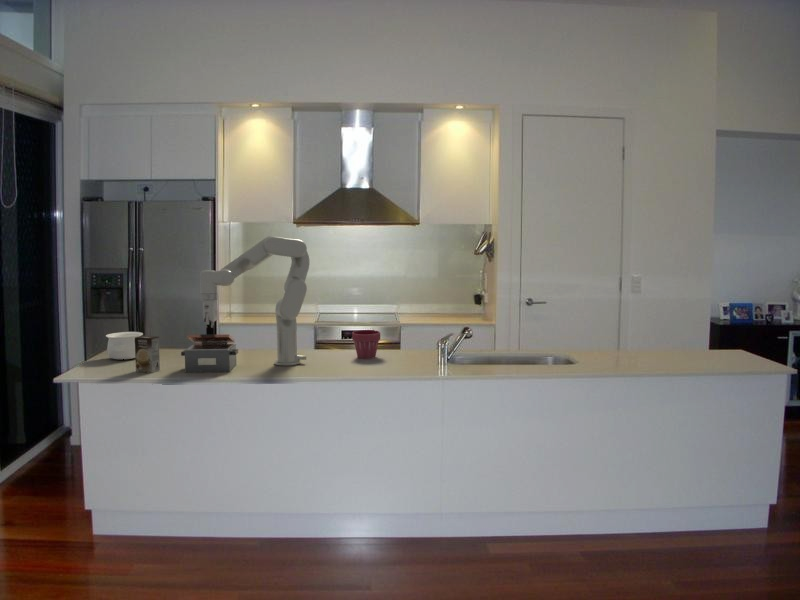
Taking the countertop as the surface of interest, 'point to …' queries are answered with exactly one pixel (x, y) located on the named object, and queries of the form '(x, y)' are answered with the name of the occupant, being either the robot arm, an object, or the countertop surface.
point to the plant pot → (366, 343)
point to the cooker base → (210, 357)
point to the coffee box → (147, 354)
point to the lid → (211, 339)
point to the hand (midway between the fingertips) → (210, 336)
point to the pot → (122, 345)
